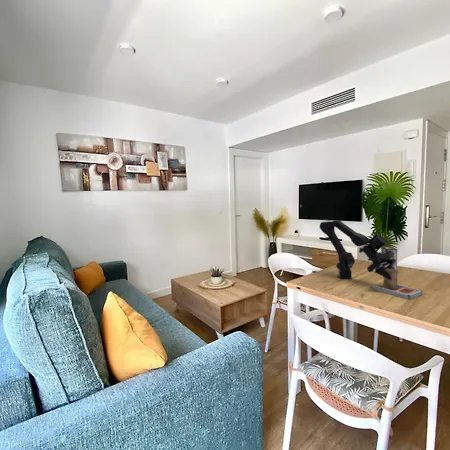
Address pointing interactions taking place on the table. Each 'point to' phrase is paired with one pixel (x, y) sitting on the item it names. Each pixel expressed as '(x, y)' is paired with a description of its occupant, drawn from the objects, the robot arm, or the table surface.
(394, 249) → the coffee box
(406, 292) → the rectangular frame
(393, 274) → the walnut block
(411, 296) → the u-shaped frame
